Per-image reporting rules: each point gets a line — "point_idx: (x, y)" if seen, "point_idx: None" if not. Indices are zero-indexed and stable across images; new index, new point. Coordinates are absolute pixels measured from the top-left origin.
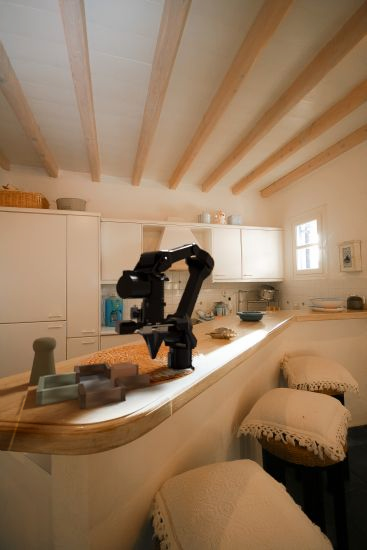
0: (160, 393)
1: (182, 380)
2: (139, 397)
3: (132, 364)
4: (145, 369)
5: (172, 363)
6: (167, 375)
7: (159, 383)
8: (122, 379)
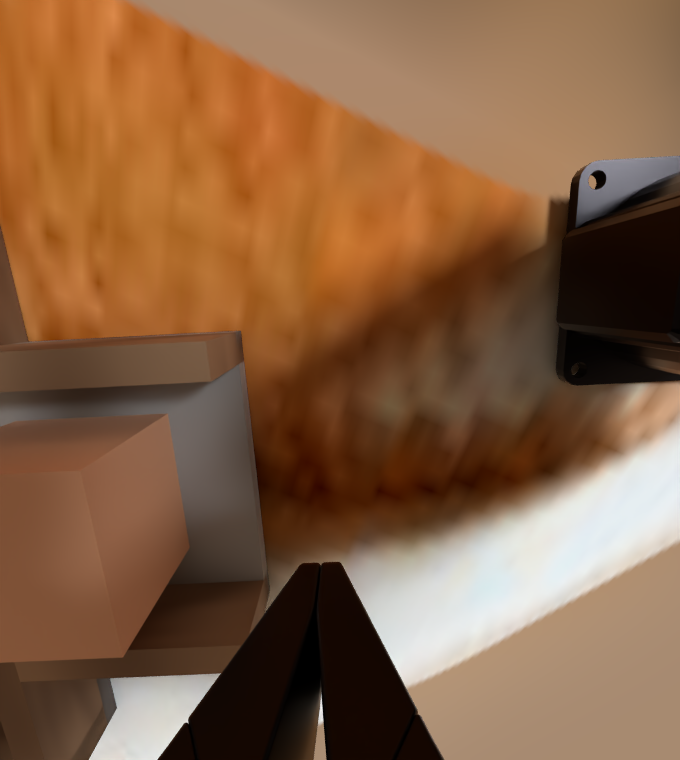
0: None
1: (513, 547)
2: None
3: (90, 575)
4: (348, 176)
5: (599, 332)
6: (465, 416)
7: (351, 540)
8: (44, 674)
